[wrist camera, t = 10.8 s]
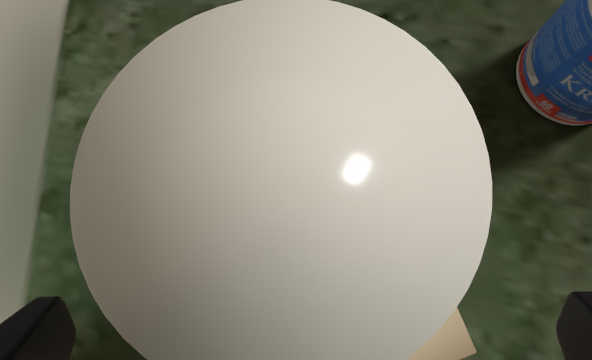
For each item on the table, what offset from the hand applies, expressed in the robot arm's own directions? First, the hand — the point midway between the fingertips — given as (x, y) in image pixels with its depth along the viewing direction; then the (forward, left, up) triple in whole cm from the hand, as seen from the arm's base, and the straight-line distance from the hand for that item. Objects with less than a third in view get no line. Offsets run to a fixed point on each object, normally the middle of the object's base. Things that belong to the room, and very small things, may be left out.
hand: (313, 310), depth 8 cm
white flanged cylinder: (+1, 0, -10) cm, 10 cm away
